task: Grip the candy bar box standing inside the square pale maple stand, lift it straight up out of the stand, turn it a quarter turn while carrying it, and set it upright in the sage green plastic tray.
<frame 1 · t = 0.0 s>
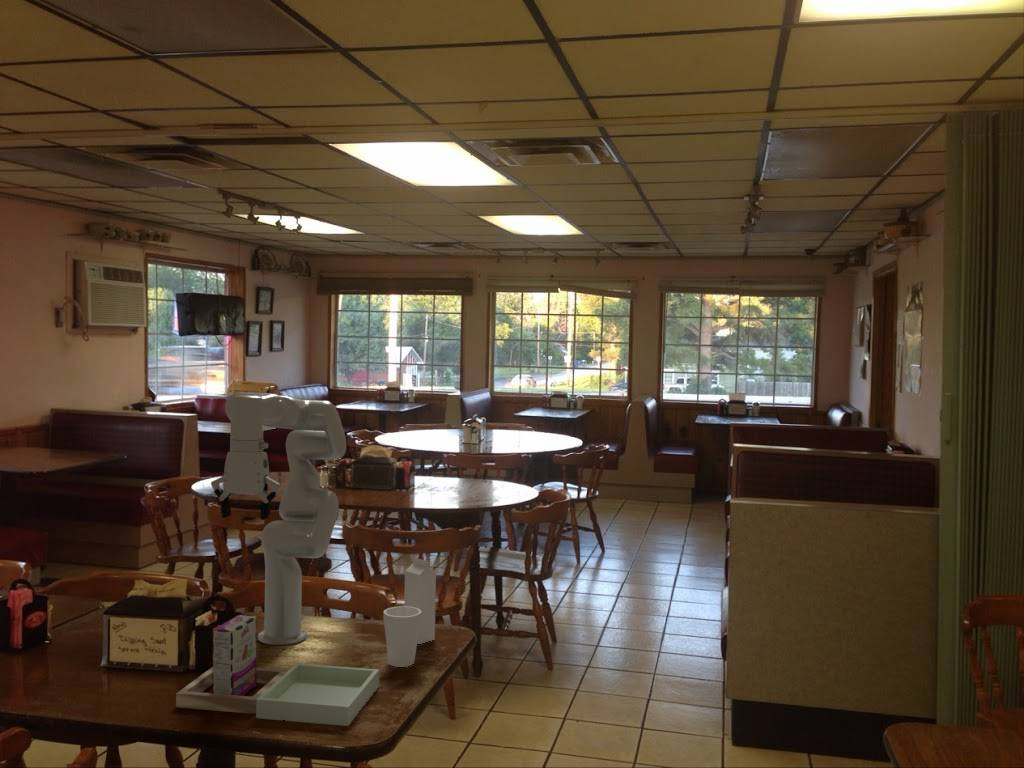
hand: (245, 517, 211), 37 cm above the table, tool pointing down, fingers open, 9 cm apart
green tray: (320, 701, 194), on the table
foam cup: (401, 664, 219), on the table
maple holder: (234, 694, 197), on the table
milk: (419, 641, 237), on the table
candy bar box: (234, 695, 197), resting in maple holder
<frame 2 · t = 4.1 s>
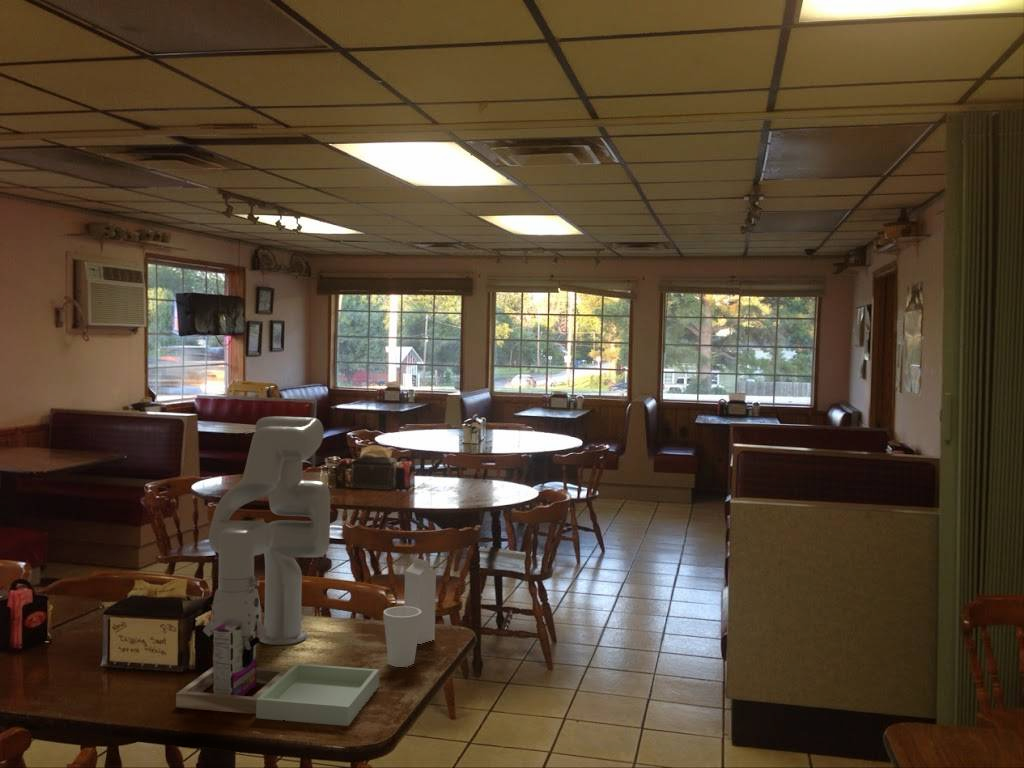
hand: (235, 663, 197), 7 cm above the table, tool pointing down, fingers closed on candy bar box, 5 cm apart
candy bar box: (234, 695, 197), resting in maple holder, touching gripper
everything else where it was.
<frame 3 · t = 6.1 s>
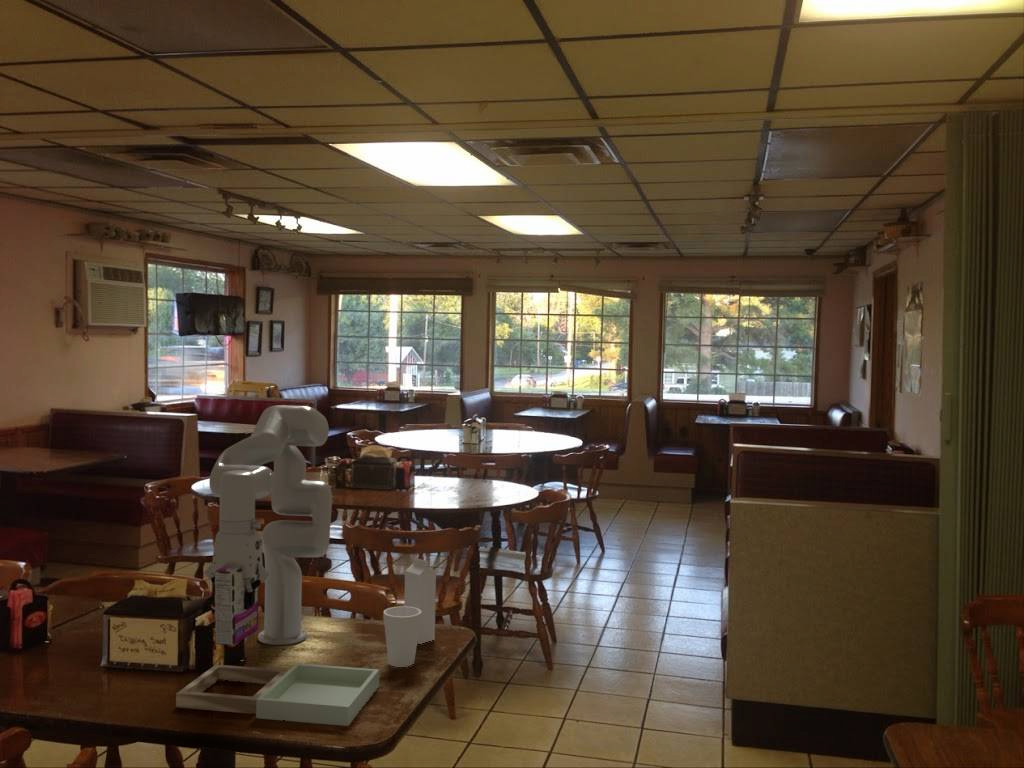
hand: (236, 606, 197), 20 cm above the table, tool pointing down, fingers closed on candy bar box, 5 cm apart
candy bar box: (236, 638, 197), point 13 cm above the table, touching gripper
everything else where it was.
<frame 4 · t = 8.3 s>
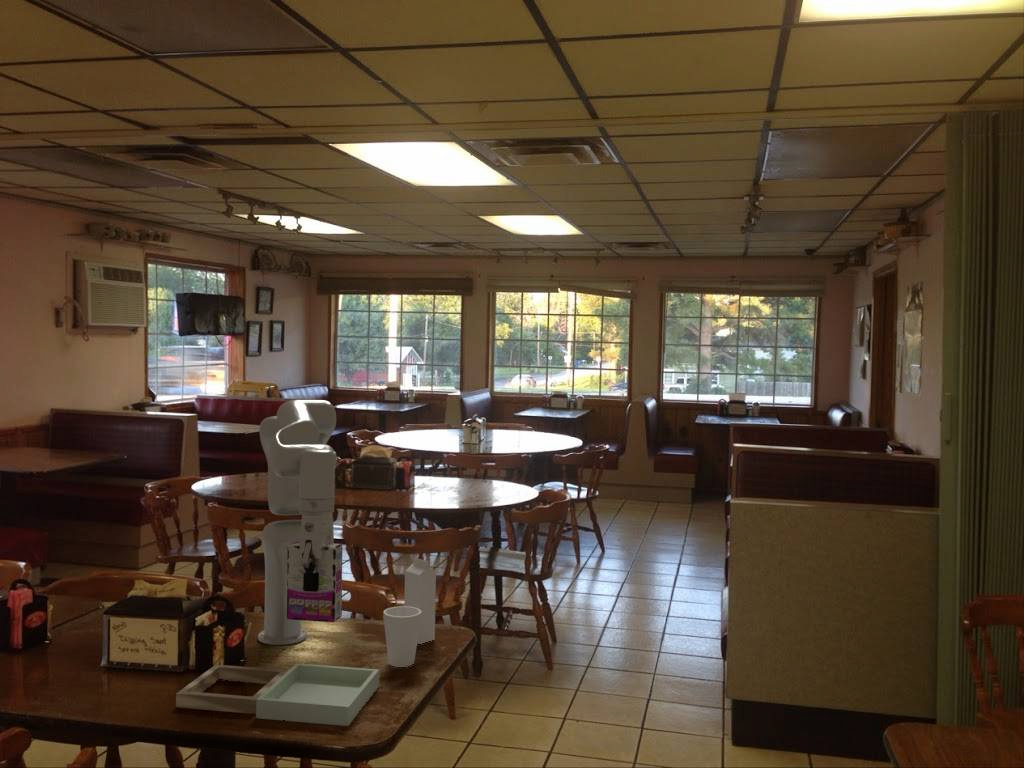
hand: (315, 586, 193), 25 cm above the table, tool pointing down, fingers closed on candy bar box, 5 cm apart
candy bar box: (314, 619, 194), point 18 cm above the table, touching gripper
everything else where it was.
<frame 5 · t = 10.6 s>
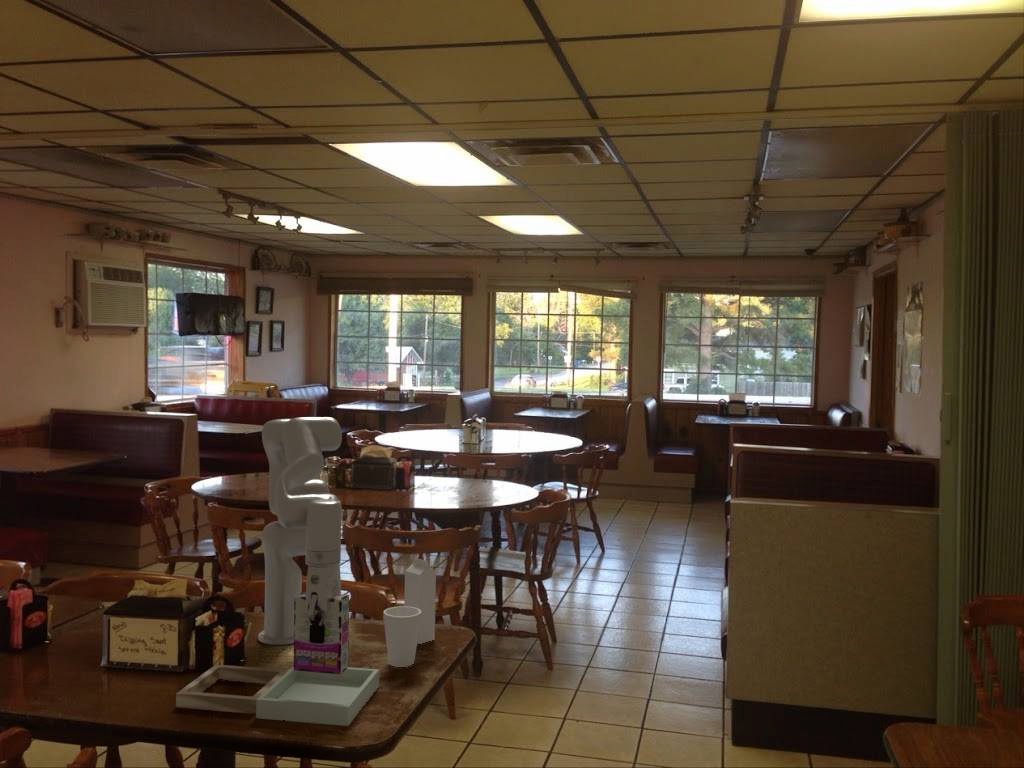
hand: (321, 637, 194), 14 cm above the table, tool pointing down, fingers closed on candy bar box, 5 cm apart
candy bar box: (321, 670, 194), point 7 cm above the table, touching gripper
everything else where it was.
when the fingers open (9 cm above the table, at t = 12.4 s): candy bar box drops 1 cm, resting on green tray.
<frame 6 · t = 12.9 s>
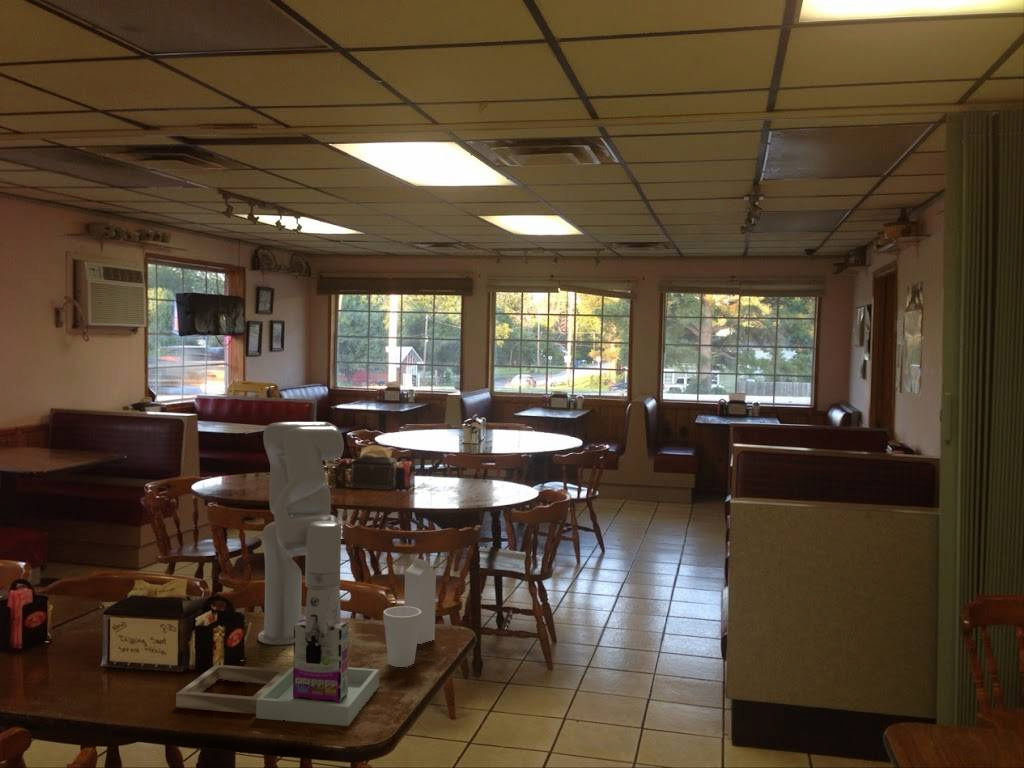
hand: (321, 655, 194), 10 cm above the table, tool pointing down, fingers open, 9 cm apart
candy bar box: (320, 697, 194), point 1 cm above the table, touching green tray
everything else where it was.
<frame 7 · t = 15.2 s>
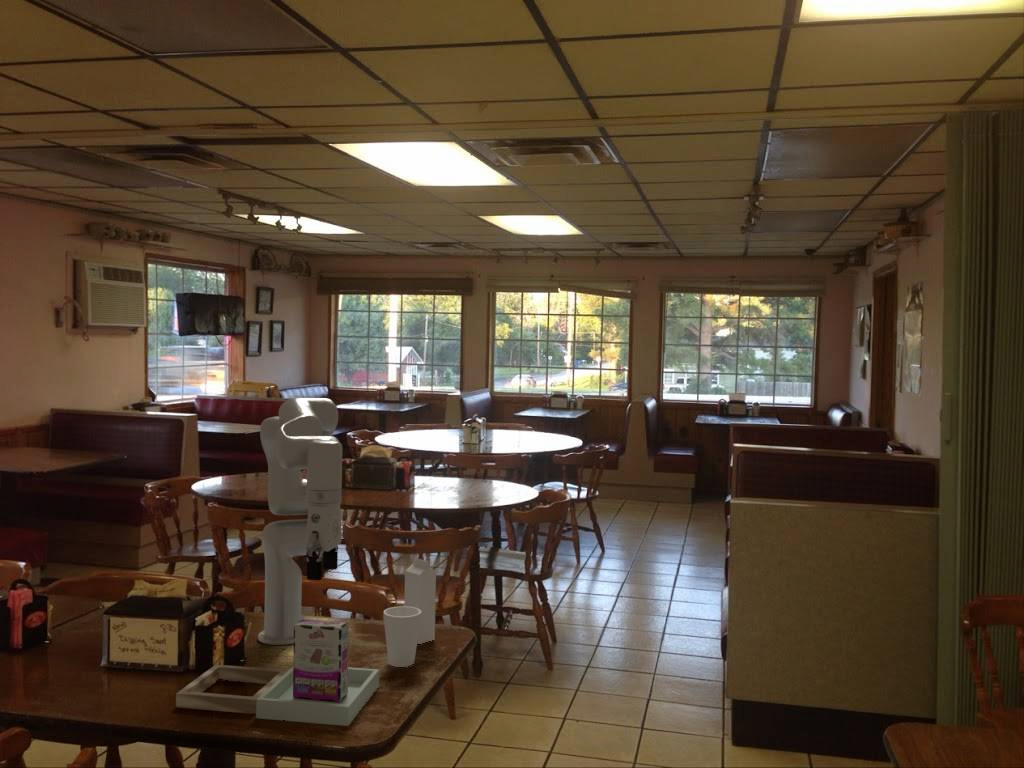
hand: (322, 574, 193), 28 cm above the table, tool pointing down, fingers open, 9 cm apart
nothing on the table moved.
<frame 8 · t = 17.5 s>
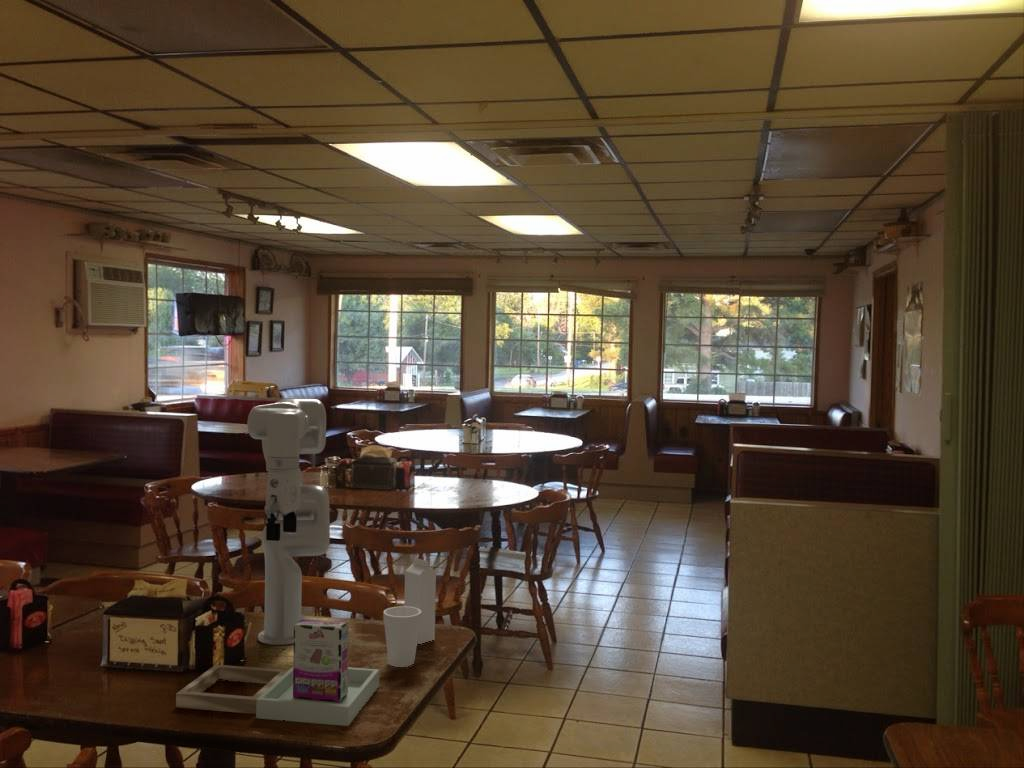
hand: (281, 536, 208), 33 cm above the table, tool pointing down, fingers open, 9 cm apart
nothing on the table moved.
at the end: candy bar box inside the target area on the green tray (0.4 cm from its centre), point 0.8 cm above the green tray's base; candy bar box tilted 0°; the gripper is holding nothing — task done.
